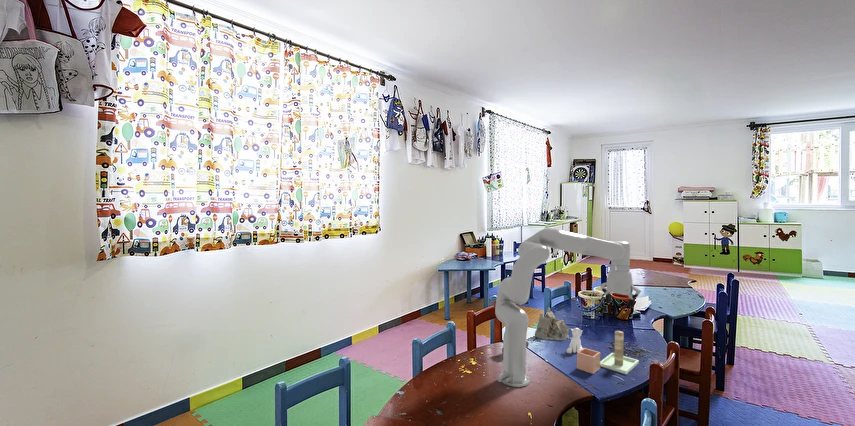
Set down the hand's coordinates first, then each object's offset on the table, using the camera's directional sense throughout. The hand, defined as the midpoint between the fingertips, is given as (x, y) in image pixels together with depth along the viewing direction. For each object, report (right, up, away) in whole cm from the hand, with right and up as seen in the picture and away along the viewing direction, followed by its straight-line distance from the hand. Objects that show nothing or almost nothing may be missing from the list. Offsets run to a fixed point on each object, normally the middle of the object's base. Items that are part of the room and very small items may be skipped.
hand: (619, 305), depth 175 cm
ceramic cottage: (-19, -27, +39) cm, 51 cm away
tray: (0, -28, +1) cm, 28 cm away
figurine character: (-45, -28, +17) cm, 55 cm away
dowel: (0, -27, +1) cm, 28 cm away
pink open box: (-15, -29, -2) cm, 32 cm away
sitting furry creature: (-13, -28, +17) cm, 35 cm away
